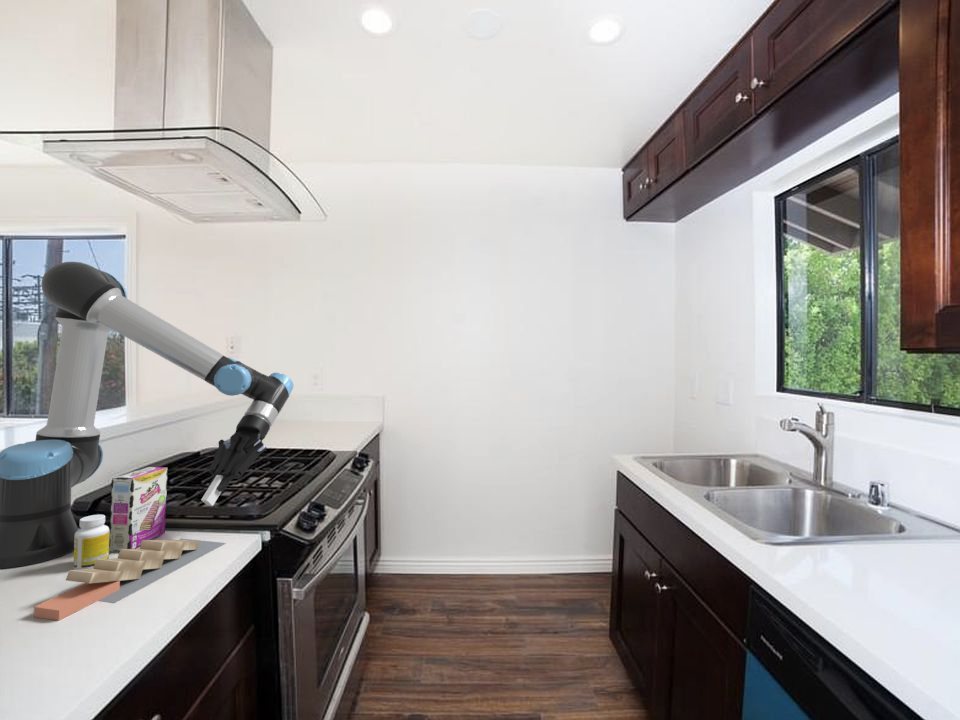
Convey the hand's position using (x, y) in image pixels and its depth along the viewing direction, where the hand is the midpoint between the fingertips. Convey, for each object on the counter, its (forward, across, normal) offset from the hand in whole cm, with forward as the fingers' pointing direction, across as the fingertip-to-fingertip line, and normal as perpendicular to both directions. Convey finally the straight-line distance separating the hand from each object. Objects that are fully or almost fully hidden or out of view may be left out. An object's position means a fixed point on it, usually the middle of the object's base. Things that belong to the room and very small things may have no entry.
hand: (207, 502), depth 104 cm
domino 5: (+9, 0, -2) cm, 9 cm away
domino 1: (+21, 0, +10) cm, 24 cm away
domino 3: (+15, 0, +4) cm, 16 cm away
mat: (+16, 0, +3) cm, 16 cm away
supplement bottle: (+18, +13, +5) cm, 22 cm away
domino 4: (+12, 0, +1) cm, 12 cm away
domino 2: (+18, 0, +7) cm, 20 cm away
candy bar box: (+10, +14, -4) cm, 17 cm away
